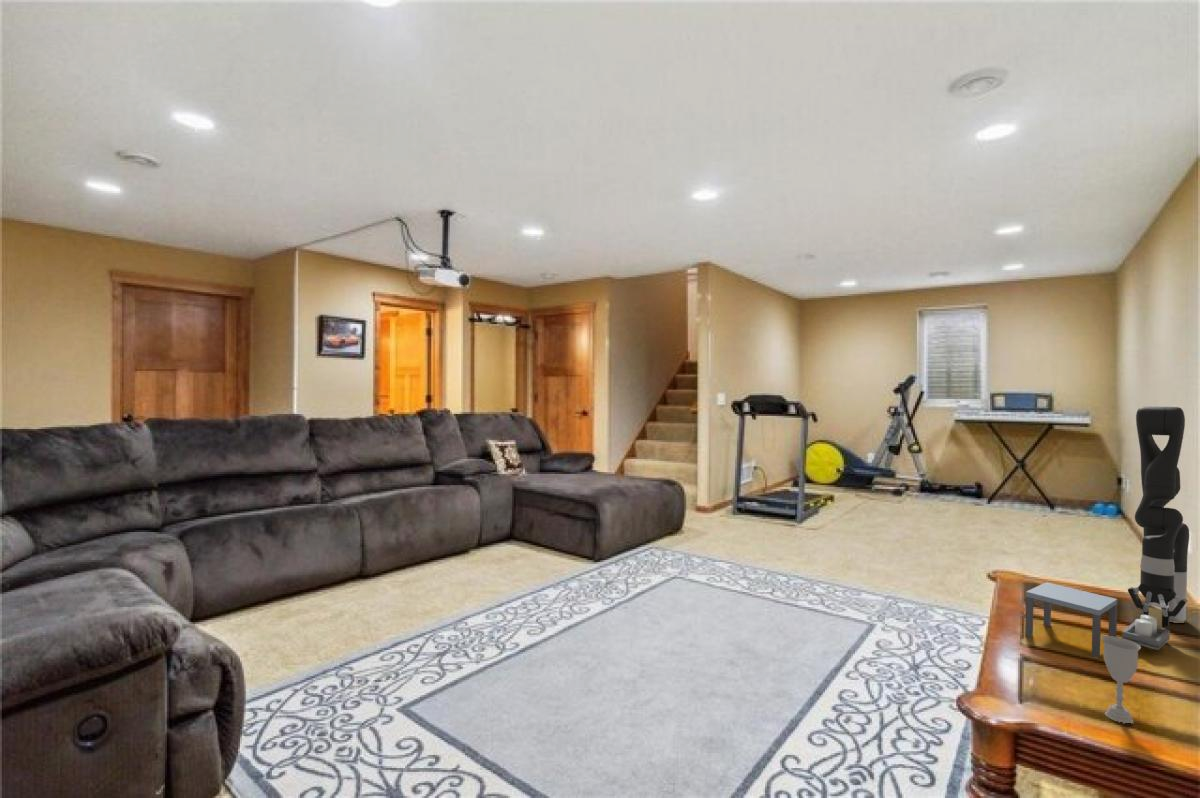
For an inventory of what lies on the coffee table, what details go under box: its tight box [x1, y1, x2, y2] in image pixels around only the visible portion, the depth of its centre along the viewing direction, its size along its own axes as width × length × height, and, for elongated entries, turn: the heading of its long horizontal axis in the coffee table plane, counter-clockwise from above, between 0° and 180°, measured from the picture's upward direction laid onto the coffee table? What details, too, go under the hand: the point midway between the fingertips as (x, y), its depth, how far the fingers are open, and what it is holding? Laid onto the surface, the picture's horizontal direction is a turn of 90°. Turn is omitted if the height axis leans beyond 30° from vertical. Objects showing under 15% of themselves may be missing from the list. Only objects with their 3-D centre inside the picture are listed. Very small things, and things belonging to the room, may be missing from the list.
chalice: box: [1101, 635, 1142, 725], centre depth 135 cm, size 7×7×18 cm
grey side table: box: [1024, 581, 1118, 659], centre depth 177 cm, size 16×18×14 cm
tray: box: [1121, 605, 1171, 651], centre depth 174 cm, size 18×8×7 cm, turn 124°
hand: (1156, 624), depth 178 cm, fingers closed on tray, 3 cm apart
